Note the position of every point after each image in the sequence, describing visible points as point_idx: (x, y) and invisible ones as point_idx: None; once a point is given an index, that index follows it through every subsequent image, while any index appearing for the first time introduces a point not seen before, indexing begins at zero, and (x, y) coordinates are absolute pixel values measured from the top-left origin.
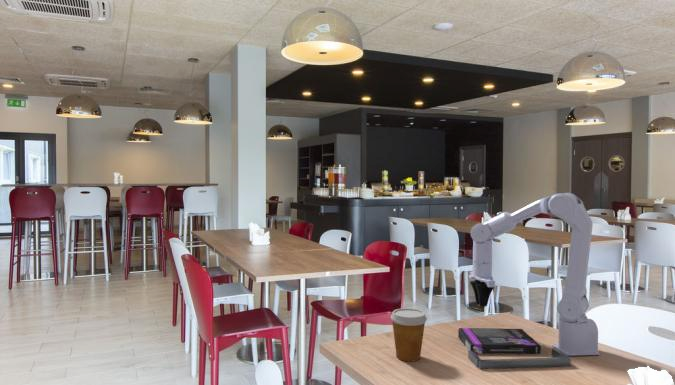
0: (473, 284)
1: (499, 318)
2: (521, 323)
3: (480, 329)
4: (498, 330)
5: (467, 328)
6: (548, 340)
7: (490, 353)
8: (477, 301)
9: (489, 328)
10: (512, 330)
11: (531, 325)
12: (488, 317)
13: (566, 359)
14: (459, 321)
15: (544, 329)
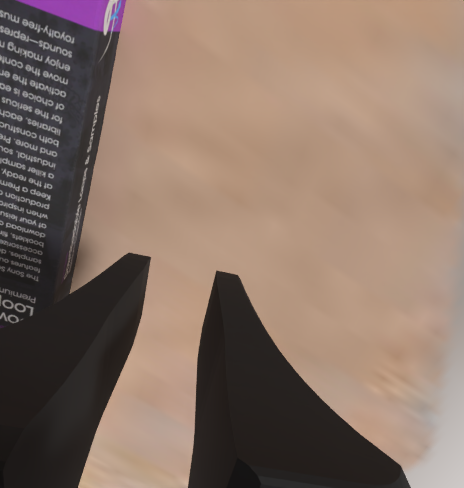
0: (231, 455)
1: (374, 411)
2: None
3: (45, 110)
4: (10, 223)
5: (86, 8)
6: None
7: None
8: (216, 290)
9: (65, 194)
10: (13, 304)
11: None
12: (417, 378)
13: None
14: (452, 184)
15: (156, 468)
